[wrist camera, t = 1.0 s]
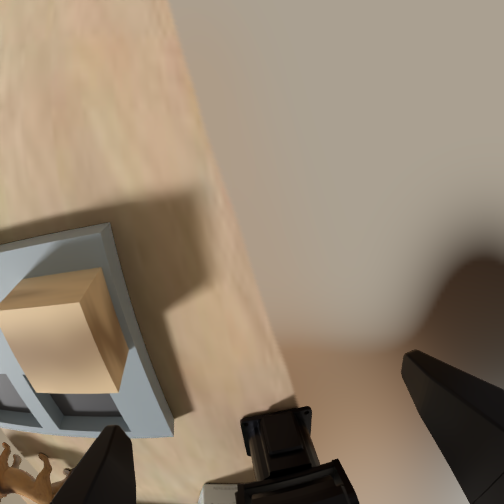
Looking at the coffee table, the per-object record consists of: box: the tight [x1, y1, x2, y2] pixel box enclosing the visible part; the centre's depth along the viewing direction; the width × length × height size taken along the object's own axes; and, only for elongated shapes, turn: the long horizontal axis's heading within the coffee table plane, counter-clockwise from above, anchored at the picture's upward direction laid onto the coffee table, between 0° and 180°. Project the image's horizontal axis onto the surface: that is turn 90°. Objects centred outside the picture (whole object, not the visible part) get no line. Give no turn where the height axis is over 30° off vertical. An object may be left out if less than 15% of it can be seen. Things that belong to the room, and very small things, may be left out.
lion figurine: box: [0, 442, 75, 504], centre depth 22 cm, size 15×5×9 cm, turn 92°
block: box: [0, 267, 129, 394], centre depth 16 cm, size 6×6×4 cm
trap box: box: [0, 222, 174, 438], centre depth 19 cm, size 18×24×2 cm
